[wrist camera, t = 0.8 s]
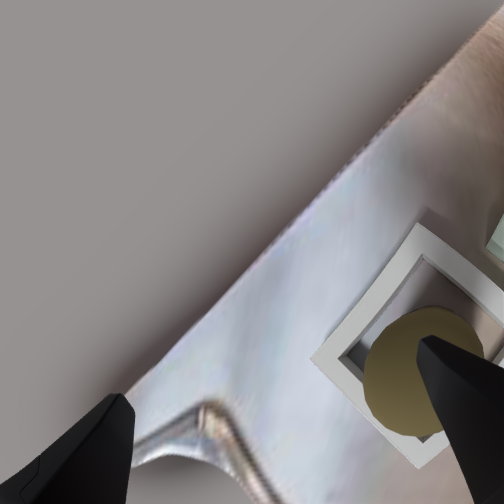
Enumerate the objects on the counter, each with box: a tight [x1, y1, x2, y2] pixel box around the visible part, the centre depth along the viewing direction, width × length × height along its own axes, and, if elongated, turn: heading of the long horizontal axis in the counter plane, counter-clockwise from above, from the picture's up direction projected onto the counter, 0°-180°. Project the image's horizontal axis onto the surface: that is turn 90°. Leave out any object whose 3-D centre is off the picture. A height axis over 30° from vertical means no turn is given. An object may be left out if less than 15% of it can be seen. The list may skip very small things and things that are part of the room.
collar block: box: [309, 222, 504, 469], centre depth 16 cm, size 12×12×2 cm
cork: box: [362, 306, 484, 437], centre depth 12 cm, size 6×6×11 cm
